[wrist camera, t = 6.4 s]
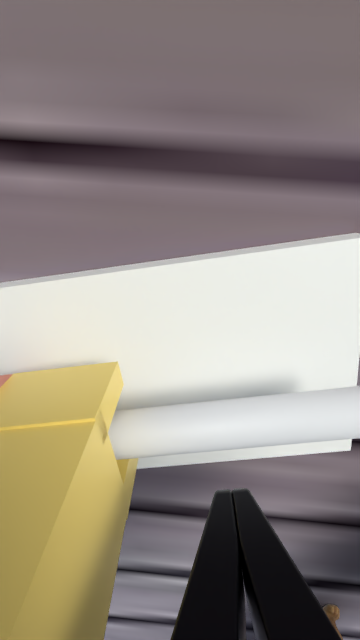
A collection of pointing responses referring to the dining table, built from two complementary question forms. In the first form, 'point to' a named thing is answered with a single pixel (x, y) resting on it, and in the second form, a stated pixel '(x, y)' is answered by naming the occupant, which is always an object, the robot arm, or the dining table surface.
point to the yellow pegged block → (60, 502)
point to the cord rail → (207, 348)
